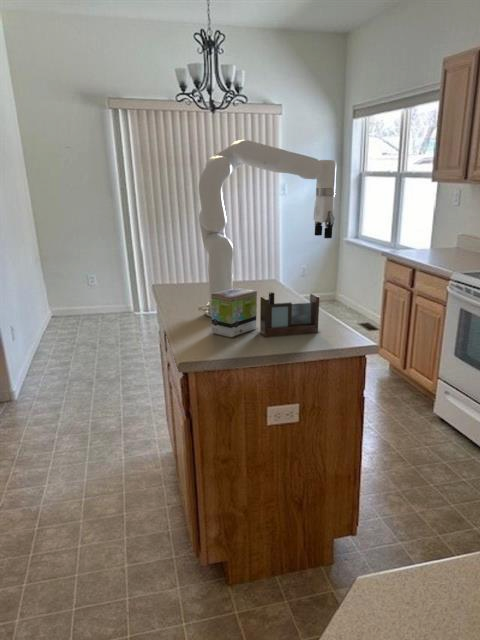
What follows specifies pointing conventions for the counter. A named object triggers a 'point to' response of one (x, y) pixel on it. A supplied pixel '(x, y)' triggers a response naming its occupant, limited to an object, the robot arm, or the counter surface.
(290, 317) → the sliding pane
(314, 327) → the window frame
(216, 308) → the tea box
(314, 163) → the robot arm
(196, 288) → the counter surface
